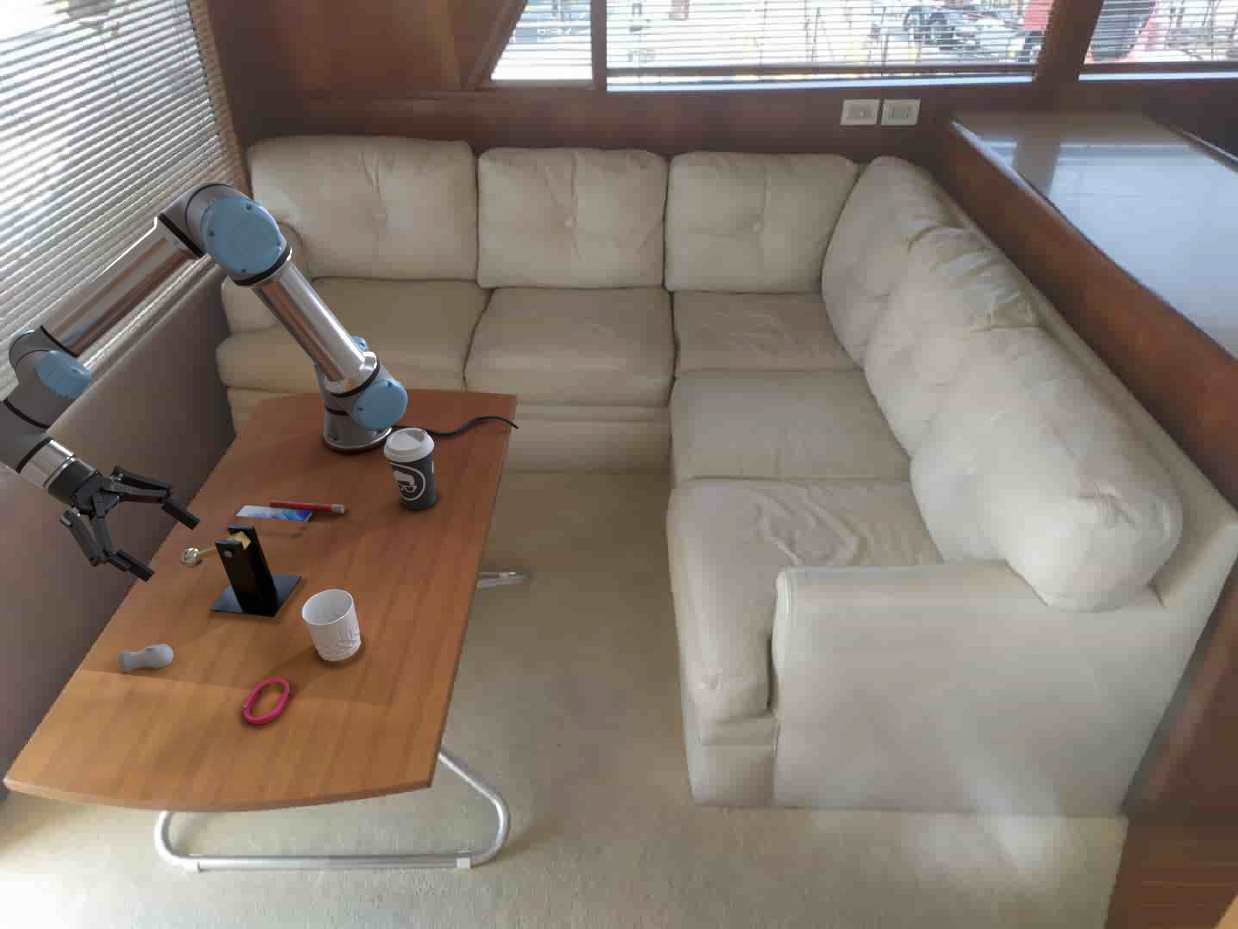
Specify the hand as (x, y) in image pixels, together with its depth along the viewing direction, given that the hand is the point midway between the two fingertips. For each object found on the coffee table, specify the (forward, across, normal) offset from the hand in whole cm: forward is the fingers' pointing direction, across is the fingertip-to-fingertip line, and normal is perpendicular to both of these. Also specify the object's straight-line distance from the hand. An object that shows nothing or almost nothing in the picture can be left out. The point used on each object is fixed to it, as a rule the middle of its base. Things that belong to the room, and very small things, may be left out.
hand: (174, 550), depth 147 cm
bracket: (+16, 0, +2) cm, 16 cm away
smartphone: (+10, -20, -4) cm, 23 cm away
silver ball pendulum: (+6, 0, +5) cm, 8 cm away
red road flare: (+13, -25, +1) cm, 28 cm away
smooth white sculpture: (+9, +17, -5) cm, 20 cm away
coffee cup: (+29, -31, +15) cm, 45 cm away
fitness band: (+26, +21, +11) cm, 35 cm away
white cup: (+30, +9, +16) cm, 35 cm away
